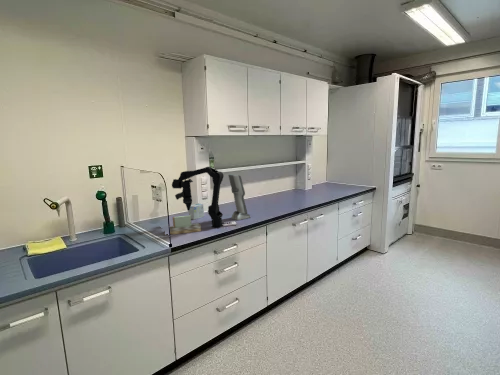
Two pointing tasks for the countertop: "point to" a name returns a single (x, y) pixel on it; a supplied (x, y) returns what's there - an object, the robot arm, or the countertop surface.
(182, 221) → the door panel
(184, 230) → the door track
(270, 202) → the countertop surface
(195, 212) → the light bulb box
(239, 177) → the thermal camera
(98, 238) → the countertop surface
